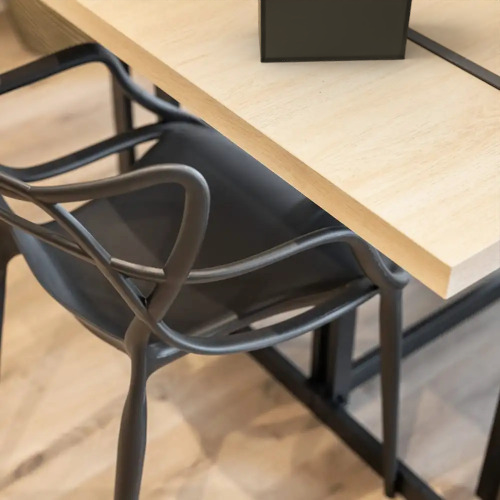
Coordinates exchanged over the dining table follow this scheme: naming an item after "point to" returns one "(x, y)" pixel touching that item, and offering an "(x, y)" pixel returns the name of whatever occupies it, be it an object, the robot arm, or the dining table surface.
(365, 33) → the caddy
